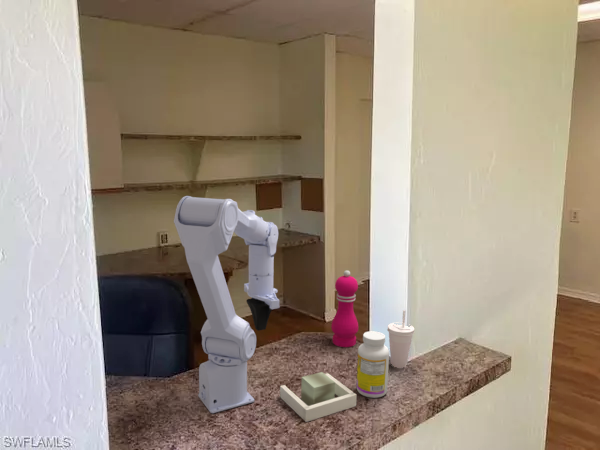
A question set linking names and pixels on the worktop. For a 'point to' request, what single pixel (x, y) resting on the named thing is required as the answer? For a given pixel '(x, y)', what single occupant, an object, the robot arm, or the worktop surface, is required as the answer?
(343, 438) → the worktop surface
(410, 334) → the smoothie
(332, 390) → the block
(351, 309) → the pepper mill
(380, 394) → the supplement bottle
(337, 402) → the block
